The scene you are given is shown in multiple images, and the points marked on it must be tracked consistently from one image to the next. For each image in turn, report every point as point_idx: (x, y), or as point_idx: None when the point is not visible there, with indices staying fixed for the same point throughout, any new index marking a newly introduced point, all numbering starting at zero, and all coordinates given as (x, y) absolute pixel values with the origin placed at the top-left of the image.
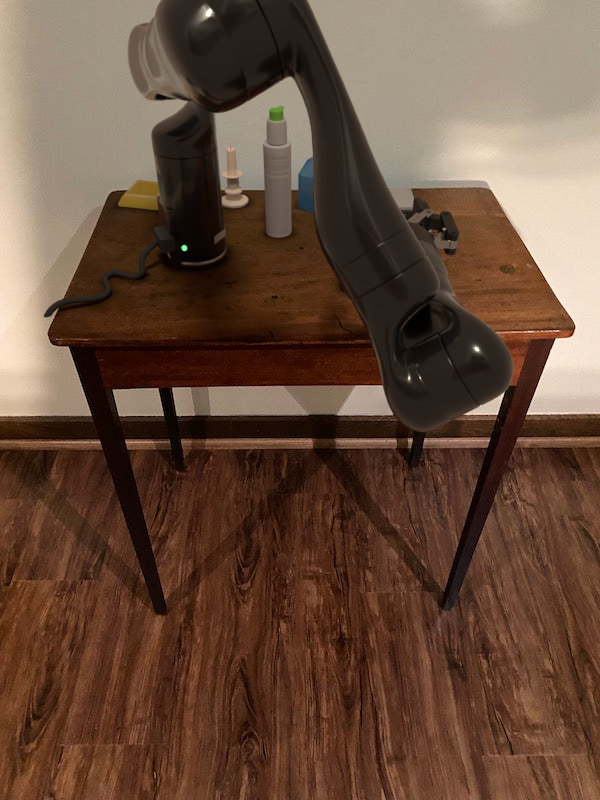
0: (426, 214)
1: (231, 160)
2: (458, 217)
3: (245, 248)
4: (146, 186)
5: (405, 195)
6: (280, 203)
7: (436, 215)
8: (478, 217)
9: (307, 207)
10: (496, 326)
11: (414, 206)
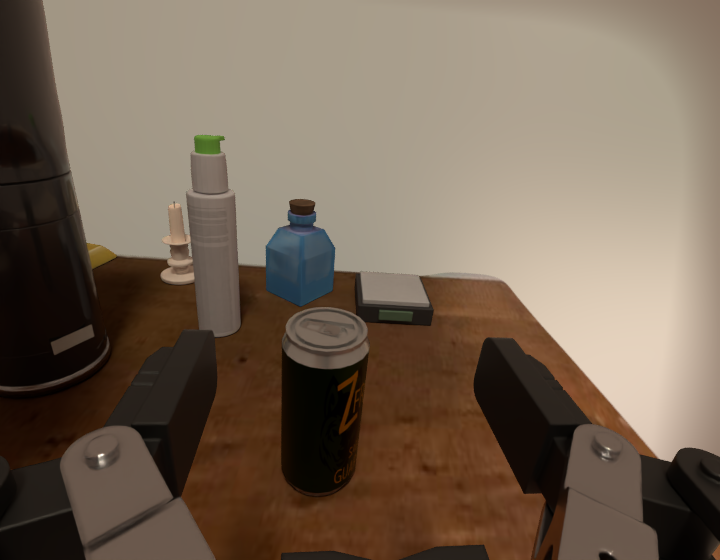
0: (611, 481)
1: (174, 221)
2: (484, 319)
3: (147, 354)
4: None
5: (412, 285)
6: (214, 286)
7: (643, 467)
8: (511, 321)
9: (277, 291)
10: None
11: (489, 372)
